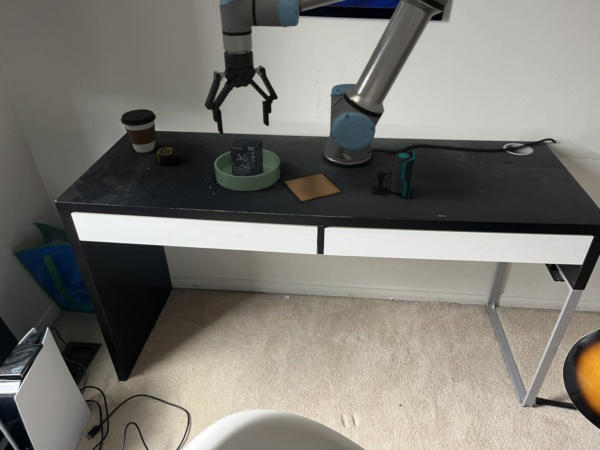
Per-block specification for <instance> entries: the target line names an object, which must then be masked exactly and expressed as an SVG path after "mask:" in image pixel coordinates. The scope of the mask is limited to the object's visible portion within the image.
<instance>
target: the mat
mask: <svg viewBox="0 0 600 450" xmlns="http://www.w3.org/2000/svg"><path fill="white" fill-rule="evenodd" d="M284 184H285V185H286V186H287V187H288V188H289V189H290V191H291V192H292V193H293V194H294V195H295V196H296V197H297V199H299V201H300V202H301V203H303V202H307V201H312V200H315V199H320V198H325V197H327V196H328V197H329V196H331V195H337V194H339V193H341V190H340V189H339V188H338V187H336V185H335V184H333V183H332V182H331V181H330V180H329V179H328V177H326V176H325V175H324V174H323V173H317V174H313V175H308V176H304V177H299V178H295V179H291V180H286V181H284Z"/></svg>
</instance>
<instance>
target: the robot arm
mask: <svg viewBox="0 0 600 450" xmlns="http://www.w3.org/2000/svg"><path fill="white" fill-rule="evenodd" d="M344 1H345V0H219V4H218V7H219V13H220V25H221V35H222V48H223V50H224V52H223V58H224V59H223V60H224V72H223V71H221V72H219V71H217V70H215V71H213V79H212V82H211V85H210V89H209V91H208V94H207V96H206V98H205V99H206V100H205V102H204V107H205V108H206V109H207V110H208V111H211V114H212V119H213V121H214V122H215V123H216V126H217V132H218V133H219V134H220V135H223V134H224V127H223V125H224V124H223V117H222V116H223V115H222V110H221V109H220V108H221V106H222V104H223V103H224V102H225V100H226V99H227V98H228V95H229V94H231V92H232V91H233V89H239V88H246V87H249V85H250V86H251V87H252V88H253V89H254V90H255V91H256V92H257V94H259V95H260V96H261V97H262V98H263V99H264V100H262V122H263V124H264V125H265V126H266V127H269V126H270V114H272V104H273V103H274V100H275V101H277V100H278V98H279V96H278V95H277V93H276V91H275V89H274V87H273V85H272V84H271V82H270V80H269V77H268V76H267V71H266V68H265V67H264V66H263V65H258V67H254V66H255V65H254V64H255V62H254V52H253V48H254V45H253V44H254V43H253V28H252V27H271V28H272V27H274V28H275V27H277V28H288V27H289V28H290V27H297V26H298V25H299V23H300V22H299V21H300V13H302V12H305V11H309V10H312V9H316V8H320V7H324V6H328V5H331V4H336V3H339V2H344ZM448 2H449V0H399V2H398V4H397V6H396V7H395V10H394V11H393V14H392V15H391V18H390V19H389V21H388V23H387V25H386V27H385V29H384V30H383V33H382V34H381V37H380V38H379V40H378V41H377V44H376V46H375V48H374V50H373V51H372V53H371V56H369V57H370V58H369V59H368V61H367V62H366V65H365V67H364V68H363V70H362V72H361V74H360V76H359V78H358V80H357V82H356V83H339V84H336V85H333V87H332V88H331V92H330V121H329V123H330V126H329V127H330V128H329V136H328V138H327V141H326V144H325V147H324V149H323V159H324V160H325V161H326V162H327V163H329V164H331V165H333V166H335V167H341V168H357V167H363V166H365V165H367V164H368V163H370V162H371V161H372V156H373V153H386V154H397V153H399V152H405V151H407V150H410V149H412V148H421V147H422V148H435V149H447V150H459V151H468V152H469V151H470V152H506V151H507V152H508V151H513V150H519V149H523V148H526V147H529V146H534V145H538V144H541V143H544V142H549V141H550V142H551V143H553V144H557V140H556V139H554V138H552V137H548V138H547V137H546V138H542V139H539V140H537V141H533V142H529V143H525V144H522V145H517V146H512V147H503V148H477V147H476V148H475V147H474V148H473V147H462V146H461V147H460V146H452V145H451V146H450V145H437V144H427V143H419V144H418V143H417V144H411V145H408V146H406V147H404V148H402V149H397V150H389V149H380V148H379V149H378V148H371V147H372V146H371V143H372V142H373V141H374V138H375V135H376V131H377V130H376V126H377V125H378V123H379V121H380V119H381V118H382V116H383V114H384V112H385V107H384V101H385V99H386V98H387V96H388V95H389V92H390V91H391V89H392V88H393V85H394V84H395V83H396V80H397V78H398V77H399V75H400V73H401V71H402V70H403V68H404V67H405V64H406V63H407V61H408V59H409V58H410V56H411V54H412V52H413V51H414V49H415V47H416V45H417V44H418V42H419V40H420V38H421V36H422V35H423V34H424V32H425V30H426V28H427V26H428V24H429V23H430V21H431V19H432V17H434V16H435V15H437V14H440V13H442V12H443V11H444V9H445V7H446V6H447V4H448ZM256 74H257V76H259V77H260V79H261V81H262V83H263V84H264V87H265V88H266V90H267V92H268V93H266V92H265V91H264V90H263V89H262V88H261V87H260V86H259V85H258V83H257V82H256V81H255V80H254V78H255V75H256ZM224 78H225V79H226V81H225V82H224V84H223V85H224V86H223V87H222V89H221V90H220V92H219V89H220V87H221V86H220V85H221V82H223V79H224ZM218 92H219V93H218ZM217 94H218V95H217ZM268 94H269V95H268Z"/></svg>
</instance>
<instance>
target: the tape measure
mask: <svg viewBox="0 0 600 450" xmlns="http://www.w3.org/2000/svg"><path fill="white" fill-rule="evenodd" d="M178 150H179V149H178V148H177V147H176V146H171V147H162V148H159V149H158V150H157V151H156V154H155V155H156V161H158V163H159V164H162V165H171V164H175V163H178V162H180V160H181V158H180V154H179V151H178Z"/></svg>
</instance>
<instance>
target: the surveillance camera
mask: <svg viewBox="0 0 600 450" xmlns="http://www.w3.org/2000/svg"><path fill="white" fill-rule="evenodd" d="M415 162H416V151H415V150H409V151H407V152H405V151H403V152H399V153H395V161H394V164H393V165H392V170H391V171H384V170H383V171H381V170H377V175H376V180H377V181H378V183H377V186H373V189H372V190H373V191H372V194H373V195H384V196H387V187H383V181H388V182H390V192H392V193H395V194H396V193H397V194H401V196H402V197H404V198H406V199H409V198H411V190H412V184H413V175H414V170H415Z"/></svg>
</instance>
